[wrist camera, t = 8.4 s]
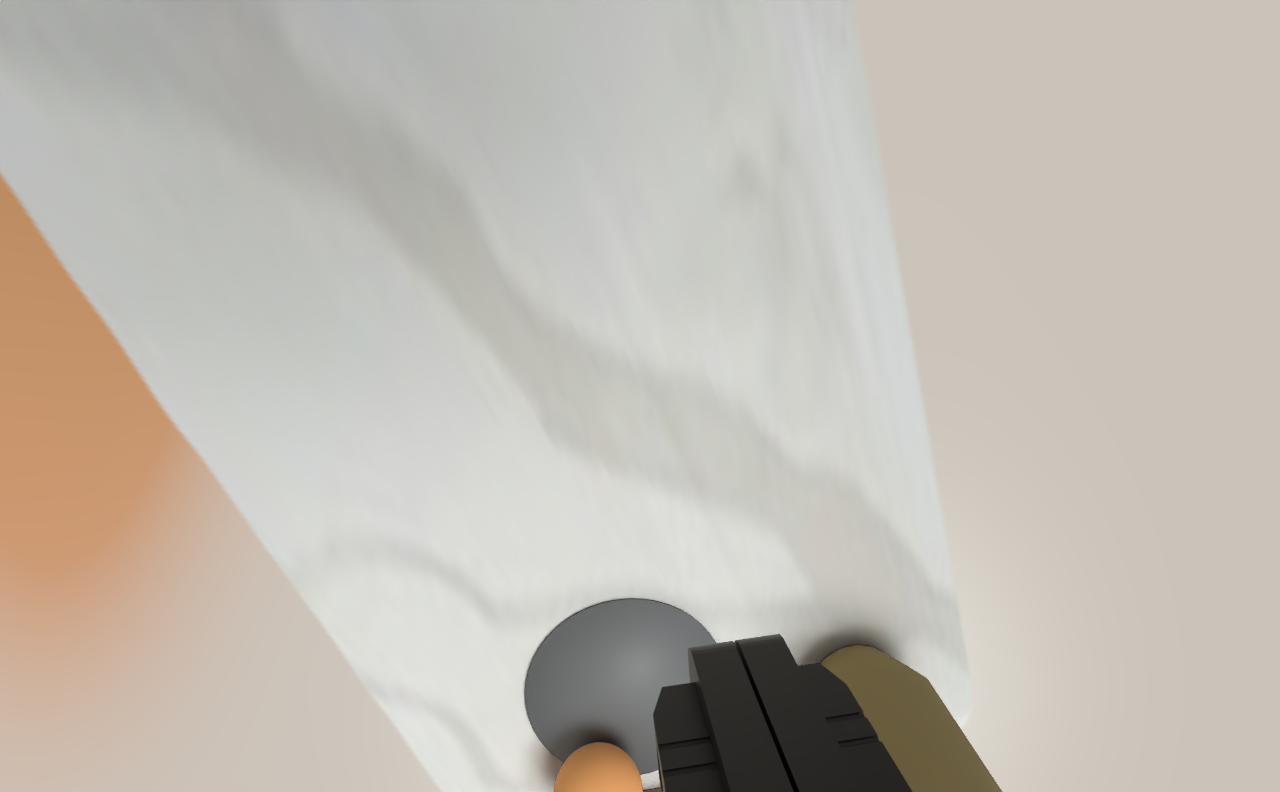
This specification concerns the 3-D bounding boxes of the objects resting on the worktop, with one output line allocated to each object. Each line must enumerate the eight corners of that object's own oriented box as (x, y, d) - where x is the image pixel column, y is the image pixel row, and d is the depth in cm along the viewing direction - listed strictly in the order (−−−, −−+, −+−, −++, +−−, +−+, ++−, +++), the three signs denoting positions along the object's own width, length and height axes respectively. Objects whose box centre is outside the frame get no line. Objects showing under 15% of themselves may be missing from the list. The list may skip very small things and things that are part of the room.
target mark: (511, 614, 37) (511, 616, 37) (719, 585, 38) (720, 587, 38) (539, 788, 40) (539, 791, 40) (731, 757, 41) (732, 759, 41)
